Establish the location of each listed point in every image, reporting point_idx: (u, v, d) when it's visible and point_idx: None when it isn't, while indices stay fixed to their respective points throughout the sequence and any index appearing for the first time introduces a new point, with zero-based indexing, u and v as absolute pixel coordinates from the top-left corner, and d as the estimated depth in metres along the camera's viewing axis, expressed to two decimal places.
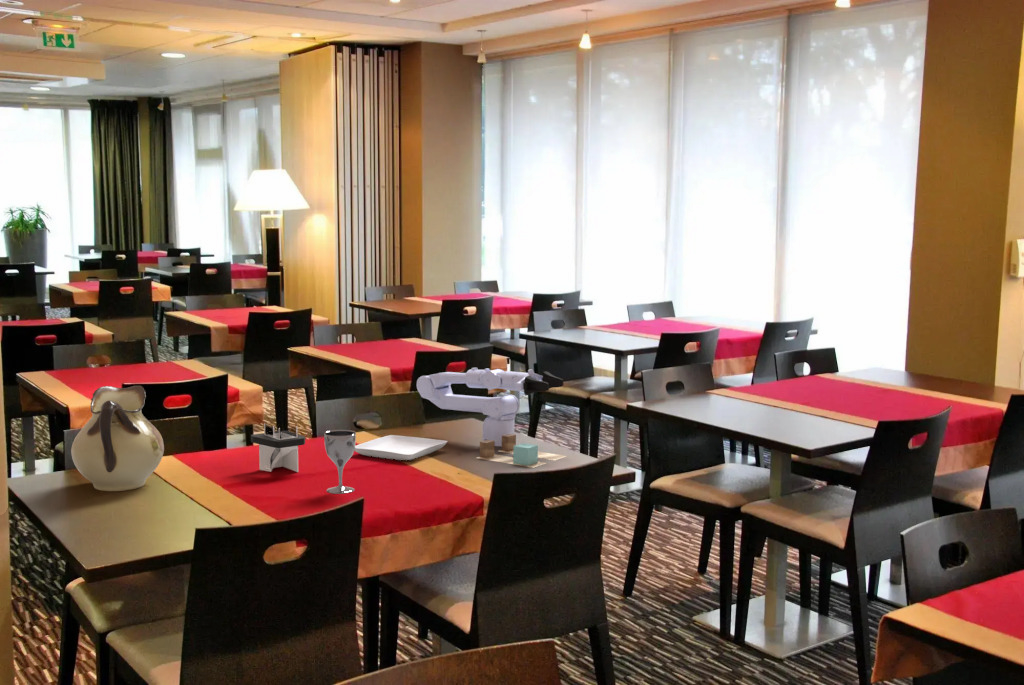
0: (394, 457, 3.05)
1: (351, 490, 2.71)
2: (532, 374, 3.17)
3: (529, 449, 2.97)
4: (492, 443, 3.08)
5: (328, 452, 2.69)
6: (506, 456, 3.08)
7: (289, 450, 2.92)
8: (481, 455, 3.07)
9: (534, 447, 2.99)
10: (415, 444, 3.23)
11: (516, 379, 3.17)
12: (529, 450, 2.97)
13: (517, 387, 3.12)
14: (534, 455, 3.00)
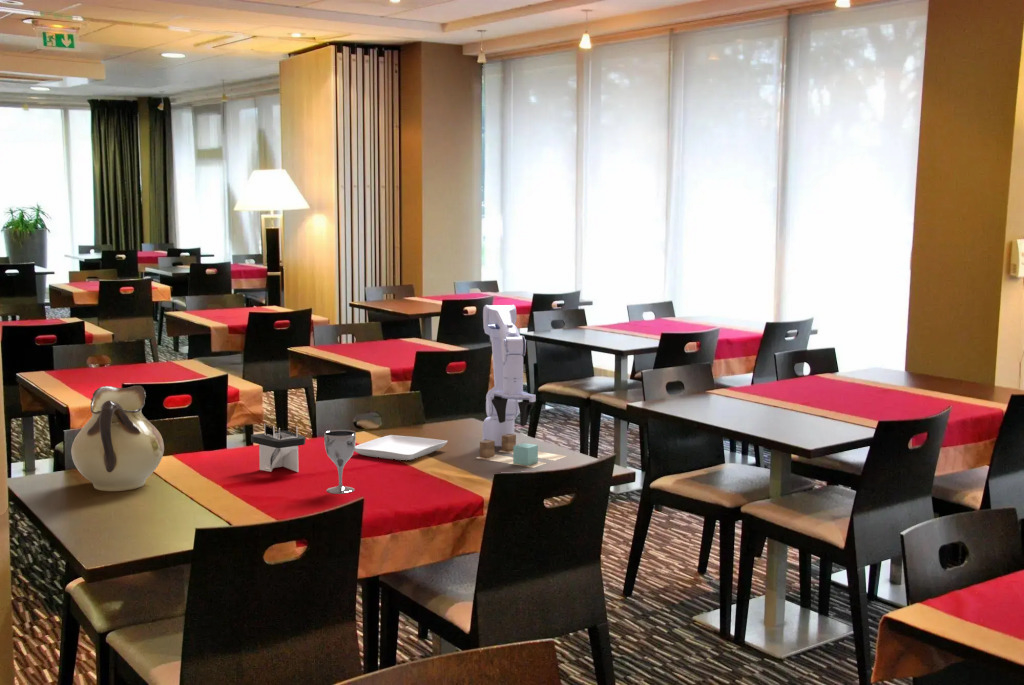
0: (394, 457, 3.05)
1: (351, 490, 2.71)
2: None
3: (529, 449, 2.97)
4: (492, 443, 3.08)
5: (328, 452, 2.69)
6: (506, 456, 3.08)
7: (289, 450, 2.92)
8: (481, 455, 3.07)
9: (534, 447, 2.99)
10: (415, 444, 3.23)
11: None
12: (529, 450, 2.97)
13: None
14: (534, 455, 3.00)
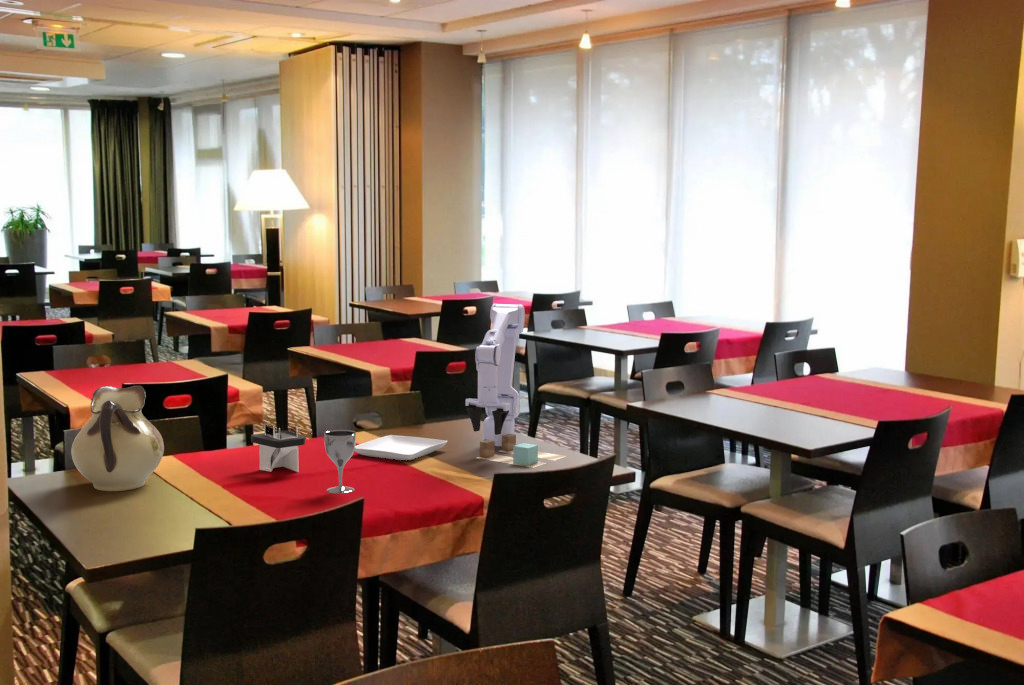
0: (394, 457, 3.05)
1: (351, 490, 2.71)
2: None
3: (529, 449, 2.97)
4: (492, 443, 3.08)
5: (328, 452, 2.69)
6: (506, 456, 3.08)
7: (289, 450, 2.92)
8: (481, 455, 3.07)
9: (534, 447, 2.99)
10: (415, 444, 3.23)
11: None
12: (529, 450, 2.97)
13: None
14: (534, 455, 3.00)
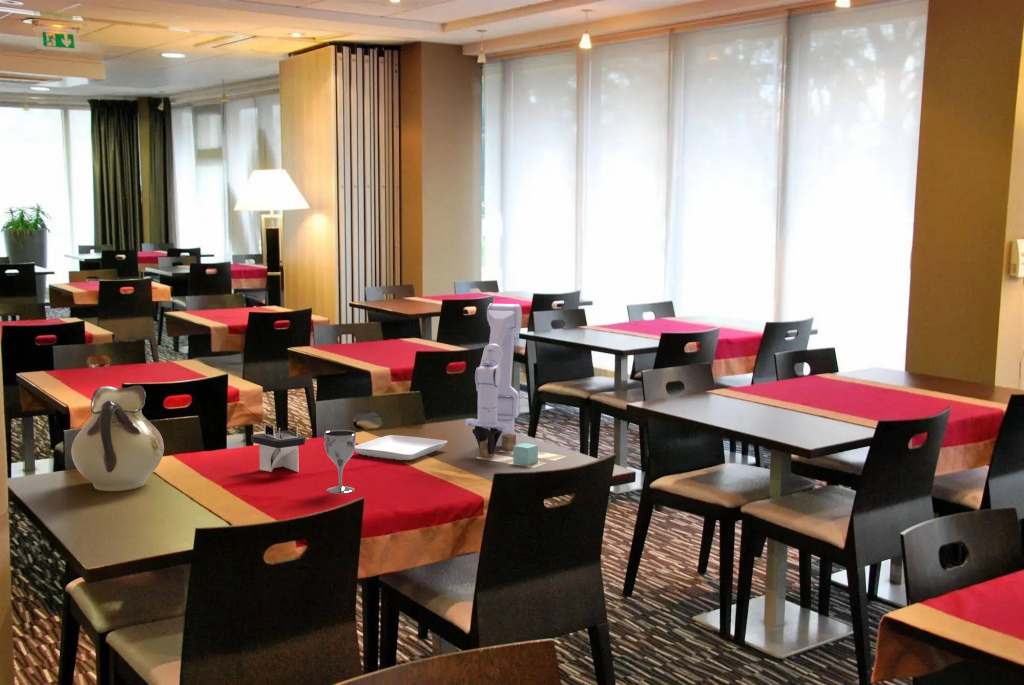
0: (394, 457, 3.05)
1: (351, 490, 2.71)
2: None
3: (529, 449, 2.97)
4: None
5: (328, 452, 2.69)
6: (506, 456, 3.08)
7: (289, 450, 2.92)
8: (481, 455, 3.07)
9: (534, 447, 2.99)
10: (415, 444, 3.23)
11: None
12: (529, 450, 2.97)
13: None
14: (534, 455, 3.00)
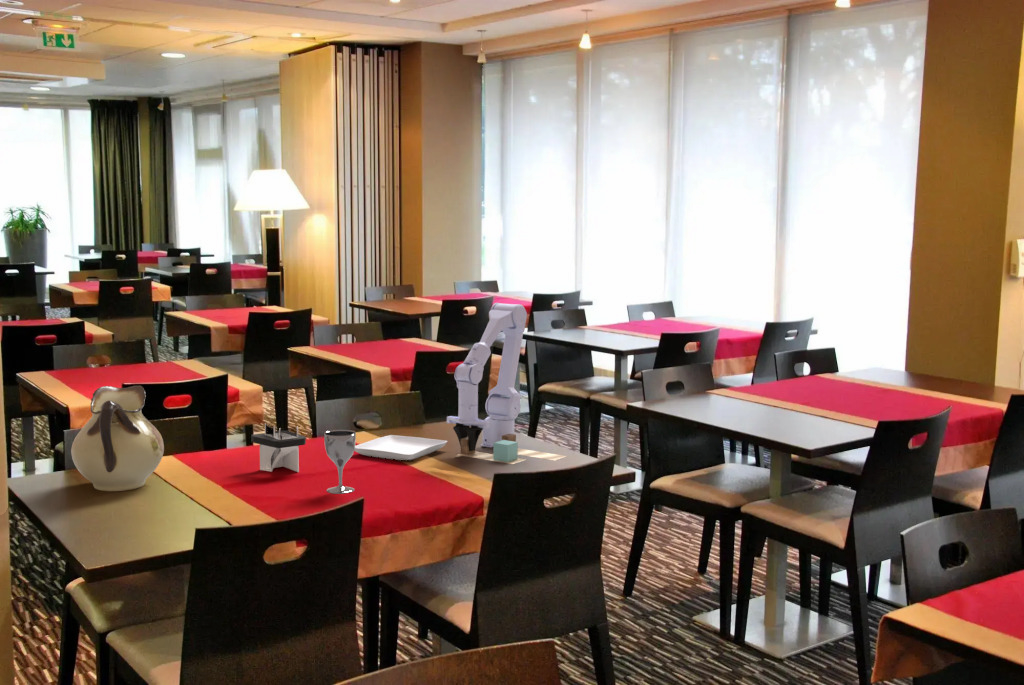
0: (394, 457, 3.05)
1: (351, 490, 2.71)
2: None
3: (509, 446, 3.01)
4: None
5: (328, 452, 2.69)
6: (487, 453, 3.12)
7: (290, 450, 2.92)
8: (462, 452, 3.11)
9: (513, 443, 3.03)
10: (415, 444, 3.23)
11: None
12: (508, 447, 3.01)
13: None
14: (514, 452, 3.04)
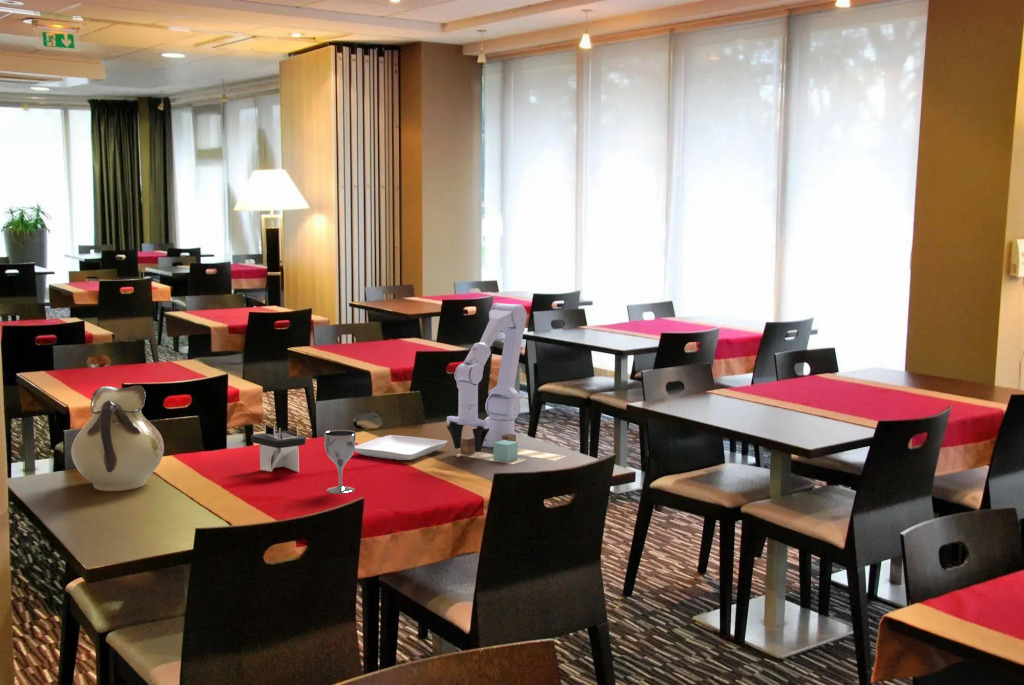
0: (394, 457, 3.05)
1: (351, 490, 2.71)
2: None
3: (509, 446, 3.01)
4: (472, 440, 3.12)
5: (328, 452, 2.69)
6: (487, 453, 3.12)
7: (290, 450, 2.92)
8: (462, 452, 3.11)
9: (513, 443, 3.03)
10: (415, 444, 3.23)
11: None
12: (508, 447, 3.01)
13: None
14: (514, 452, 3.04)
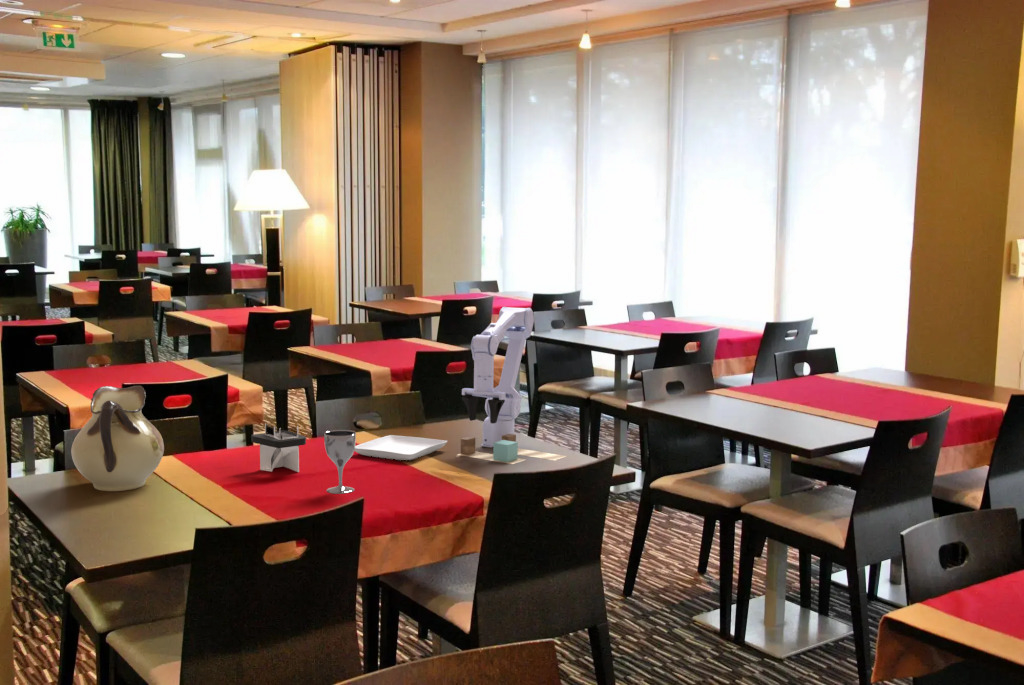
0: (394, 457, 3.05)
1: (351, 490, 2.71)
2: None
3: (509, 446, 3.01)
4: (472, 440, 3.12)
5: (328, 452, 2.69)
6: (487, 453, 3.12)
7: (290, 450, 2.92)
8: (462, 452, 3.11)
9: (513, 443, 3.03)
10: (415, 444, 3.23)
11: None
12: (508, 447, 3.01)
13: None
14: (514, 452, 3.04)
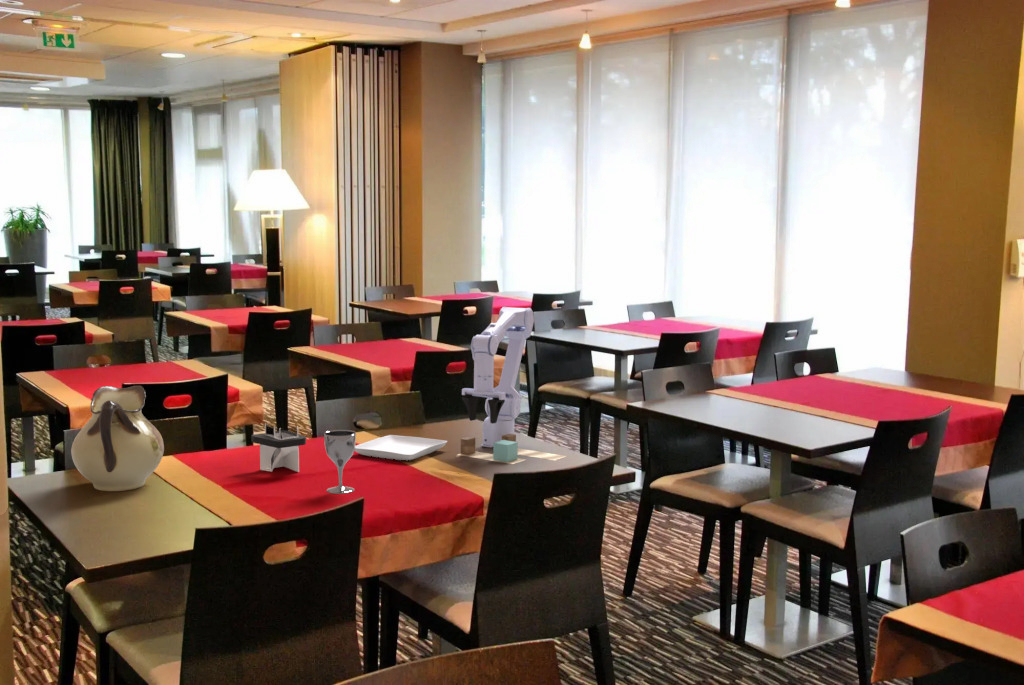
0: (394, 457, 3.05)
1: (351, 490, 2.71)
2: None
3: (509, 446, 3.01)
4: (472, 440, 3.12)
5: (328, 452, 2.69)
6: (487, 453, 3.12)
7: (290, 450, 2.92)
8: (462, 452, 3.11)
9: (513, 443, 3.03)
10: (415, 444, 3.23)
11: None
12: (508, 447, 3.01)
13: None
14: (514, 452, 3.04)
